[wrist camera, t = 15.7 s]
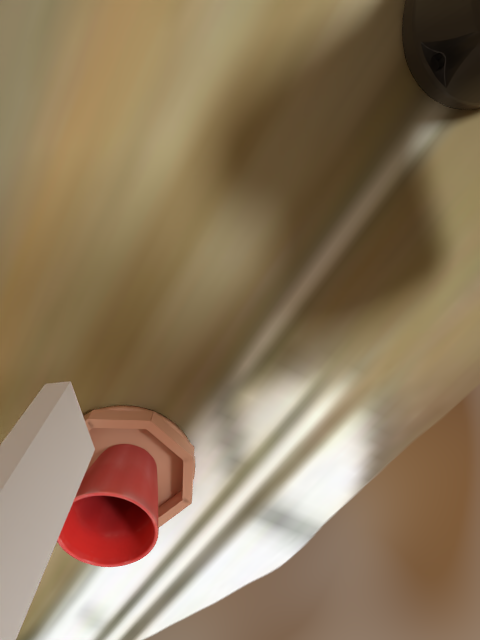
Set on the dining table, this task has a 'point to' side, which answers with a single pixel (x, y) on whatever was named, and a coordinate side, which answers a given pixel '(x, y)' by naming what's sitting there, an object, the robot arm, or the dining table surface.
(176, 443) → the terracotta saucer
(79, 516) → the flower pot
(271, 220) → the dining table surface
